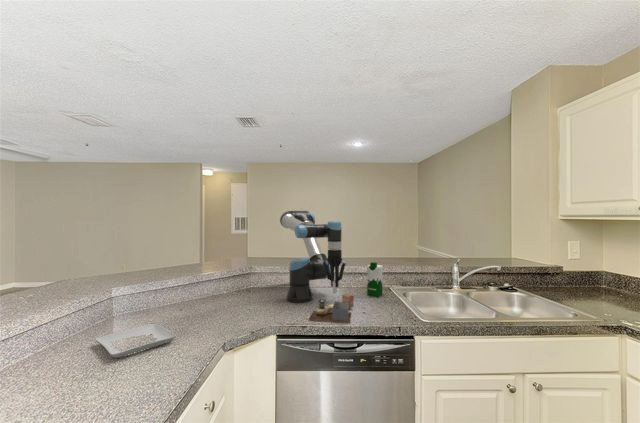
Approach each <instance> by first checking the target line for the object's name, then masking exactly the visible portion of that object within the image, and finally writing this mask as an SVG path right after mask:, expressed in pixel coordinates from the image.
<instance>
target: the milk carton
mask: <svg viewBox="0 0 640 423" xmlns="http://www.w3.org/2000/svg"><path fill="white" fill-rule="evenodd" d="M383 268H384V265H383V264H382V265H381V264H378V262H375V261H373V262H372V261H371V262H370V263H369V264H368V265H367V266H366V281H367V282H366V287H367V288H366V290H367V291H366V292H367V295H366V296H369V297H370V296H371V297H374V298H375V297H376V298H379V297H380V296H382V295H383Z"/></svg>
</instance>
